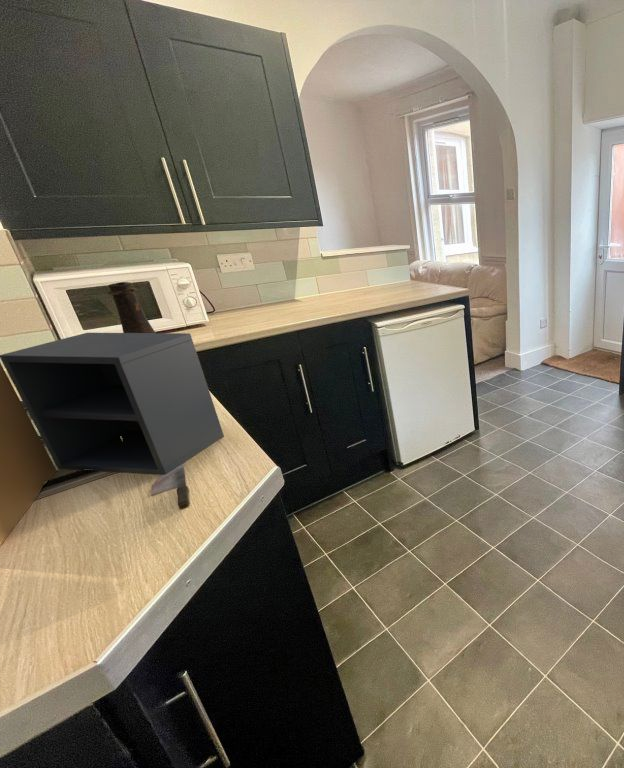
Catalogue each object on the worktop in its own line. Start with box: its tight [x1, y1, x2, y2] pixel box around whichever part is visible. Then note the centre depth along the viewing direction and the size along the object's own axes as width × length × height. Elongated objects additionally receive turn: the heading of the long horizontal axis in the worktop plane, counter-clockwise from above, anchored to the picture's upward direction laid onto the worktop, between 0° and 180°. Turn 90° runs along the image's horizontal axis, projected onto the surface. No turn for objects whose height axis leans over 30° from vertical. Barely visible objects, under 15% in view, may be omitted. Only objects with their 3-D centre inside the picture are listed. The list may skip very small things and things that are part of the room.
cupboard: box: [0, 332, 225, 476], centre depth 78 cm, size 14×22×22 cm, turn 83°
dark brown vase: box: [106, 281, 157, 333], centre depth 111 cm, size 18×18×28 cm
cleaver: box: [150, 464, 190, 510], centre depth 71 cm, size 16×1×5 cm
